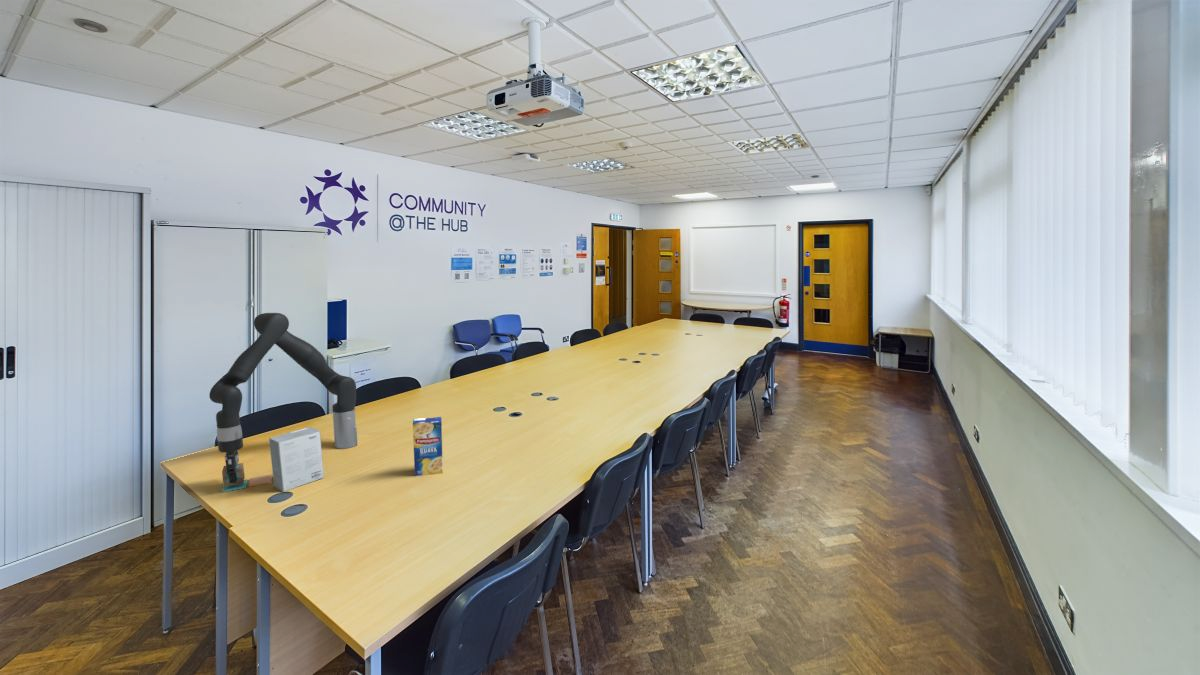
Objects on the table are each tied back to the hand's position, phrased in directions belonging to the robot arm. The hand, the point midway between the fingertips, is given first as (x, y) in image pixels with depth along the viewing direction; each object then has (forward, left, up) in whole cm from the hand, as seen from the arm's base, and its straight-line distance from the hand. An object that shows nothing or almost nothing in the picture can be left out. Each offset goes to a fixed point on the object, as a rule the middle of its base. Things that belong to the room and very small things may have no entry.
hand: (234, 479), depth 188 cm
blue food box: (-67, +21, -3) cm, 71 cm away
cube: (0, 0, -1) cm, 1 cm away
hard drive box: (-21, +7, -3) cm, 23 cm away
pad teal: (0, 0, -3) cm, 3 cm away
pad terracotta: (-8, -1, -3) cm, 9 cm away
